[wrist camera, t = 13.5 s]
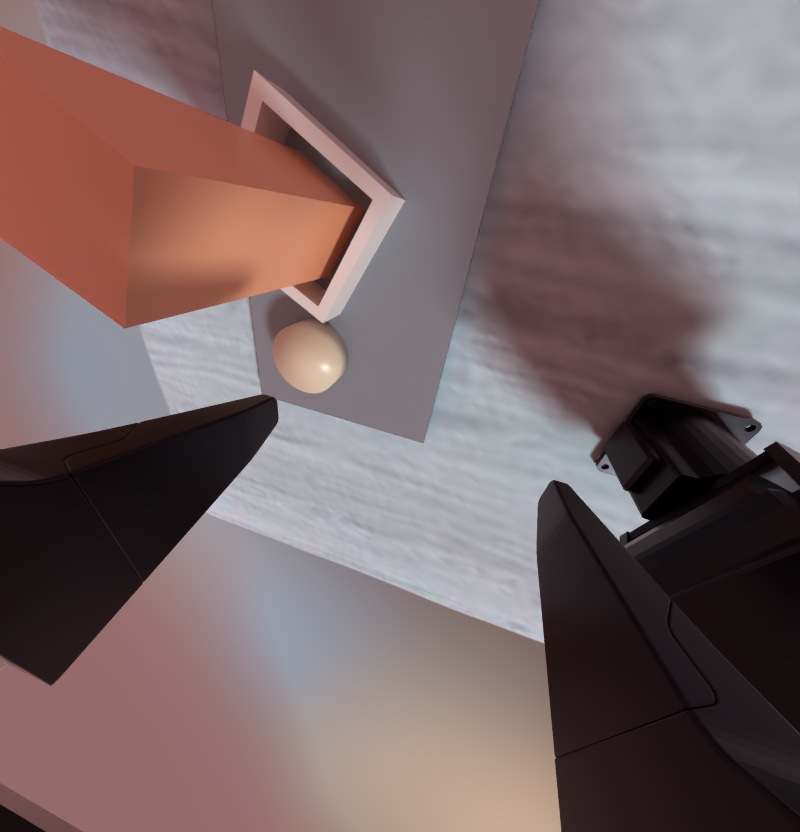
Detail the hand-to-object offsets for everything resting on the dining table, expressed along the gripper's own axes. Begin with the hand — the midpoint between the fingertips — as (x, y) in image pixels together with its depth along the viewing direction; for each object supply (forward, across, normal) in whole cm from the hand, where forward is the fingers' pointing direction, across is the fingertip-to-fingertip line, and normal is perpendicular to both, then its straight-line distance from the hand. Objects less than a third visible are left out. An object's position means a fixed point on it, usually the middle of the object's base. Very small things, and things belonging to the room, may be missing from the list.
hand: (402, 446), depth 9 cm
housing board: (+13, +8, -5) cm, 16 cm away
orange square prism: (+12, +10, -5) cm, 16 cm away
